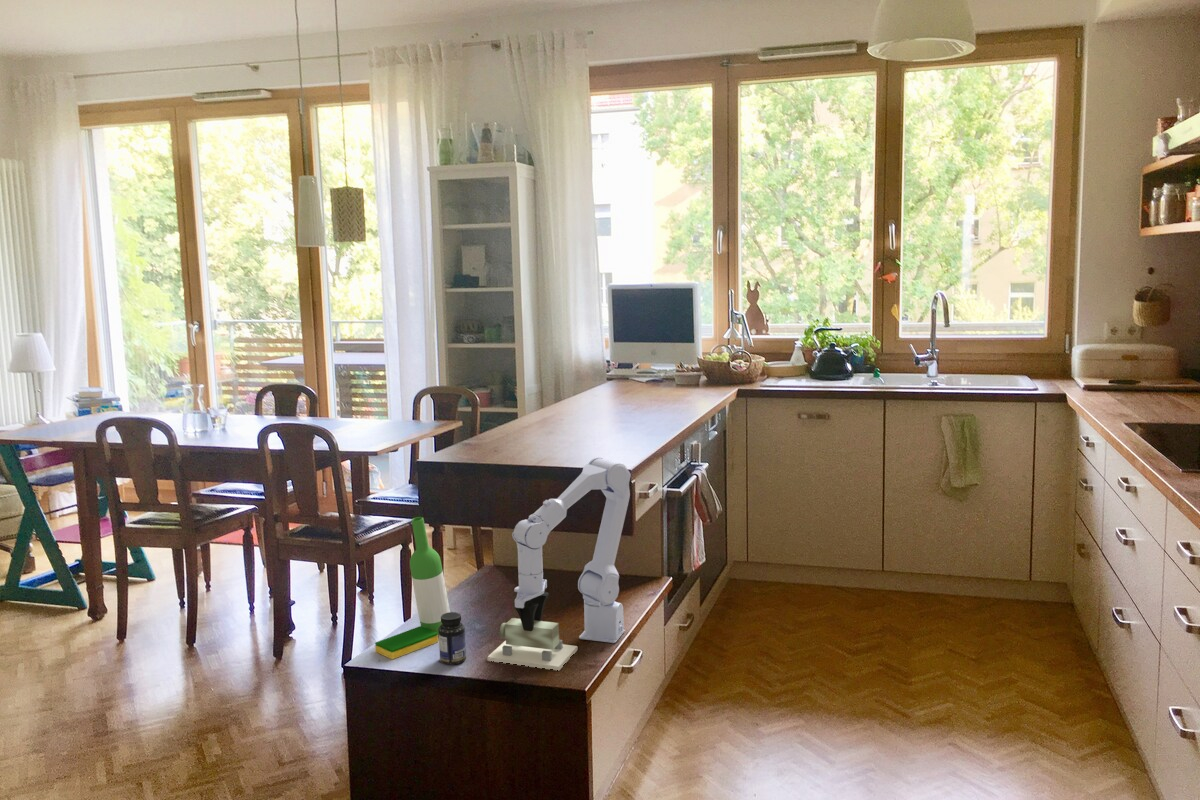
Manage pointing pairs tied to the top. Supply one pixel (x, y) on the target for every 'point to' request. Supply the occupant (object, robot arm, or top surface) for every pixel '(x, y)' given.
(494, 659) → the cradle jig
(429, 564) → the wine bottle
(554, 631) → the tall single-stud brick
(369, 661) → the top surface
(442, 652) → the pill bottle
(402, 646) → the dish sponge
